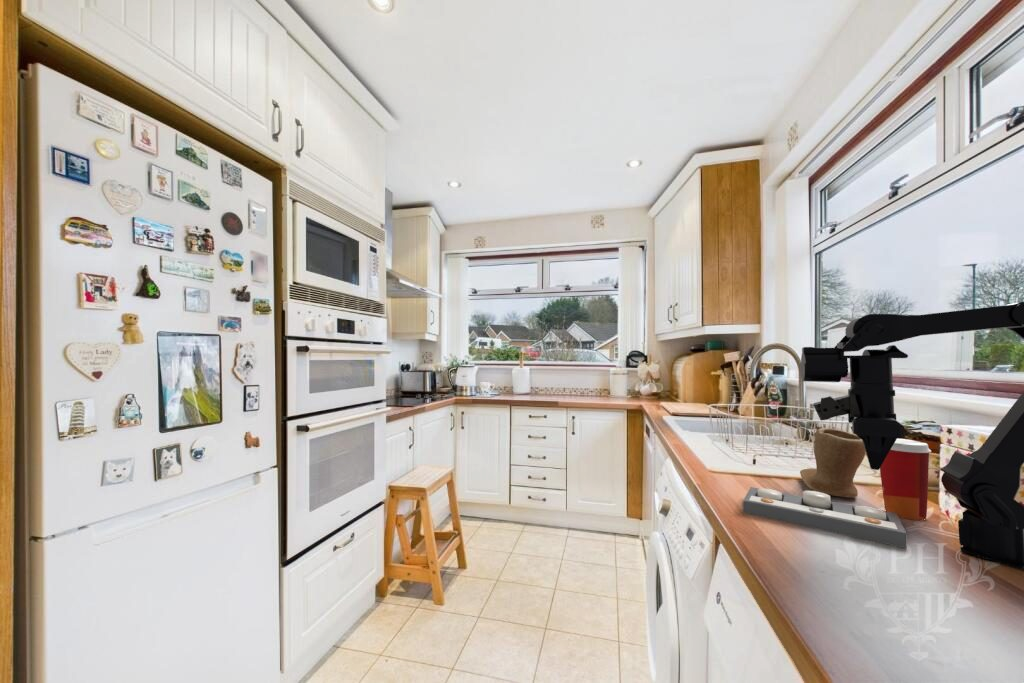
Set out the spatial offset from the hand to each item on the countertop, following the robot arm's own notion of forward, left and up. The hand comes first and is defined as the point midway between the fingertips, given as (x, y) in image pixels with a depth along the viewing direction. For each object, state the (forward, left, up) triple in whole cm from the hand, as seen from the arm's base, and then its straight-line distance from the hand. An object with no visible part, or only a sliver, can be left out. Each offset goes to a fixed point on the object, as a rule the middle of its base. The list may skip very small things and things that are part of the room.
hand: (874, 469), depth 70 cm
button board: (+9, +1, -12) cm, 15 cm away
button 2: (+2, -4, -11) cm, 12 cm away
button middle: (+10, 0, -9) cm, 13 cm away
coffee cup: (+2, -18, -12) cm, 22 cm away
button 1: (+17, +3, -11) cm, 20 cm away
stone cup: (+16, -22, -12) cm, 30 cm away
